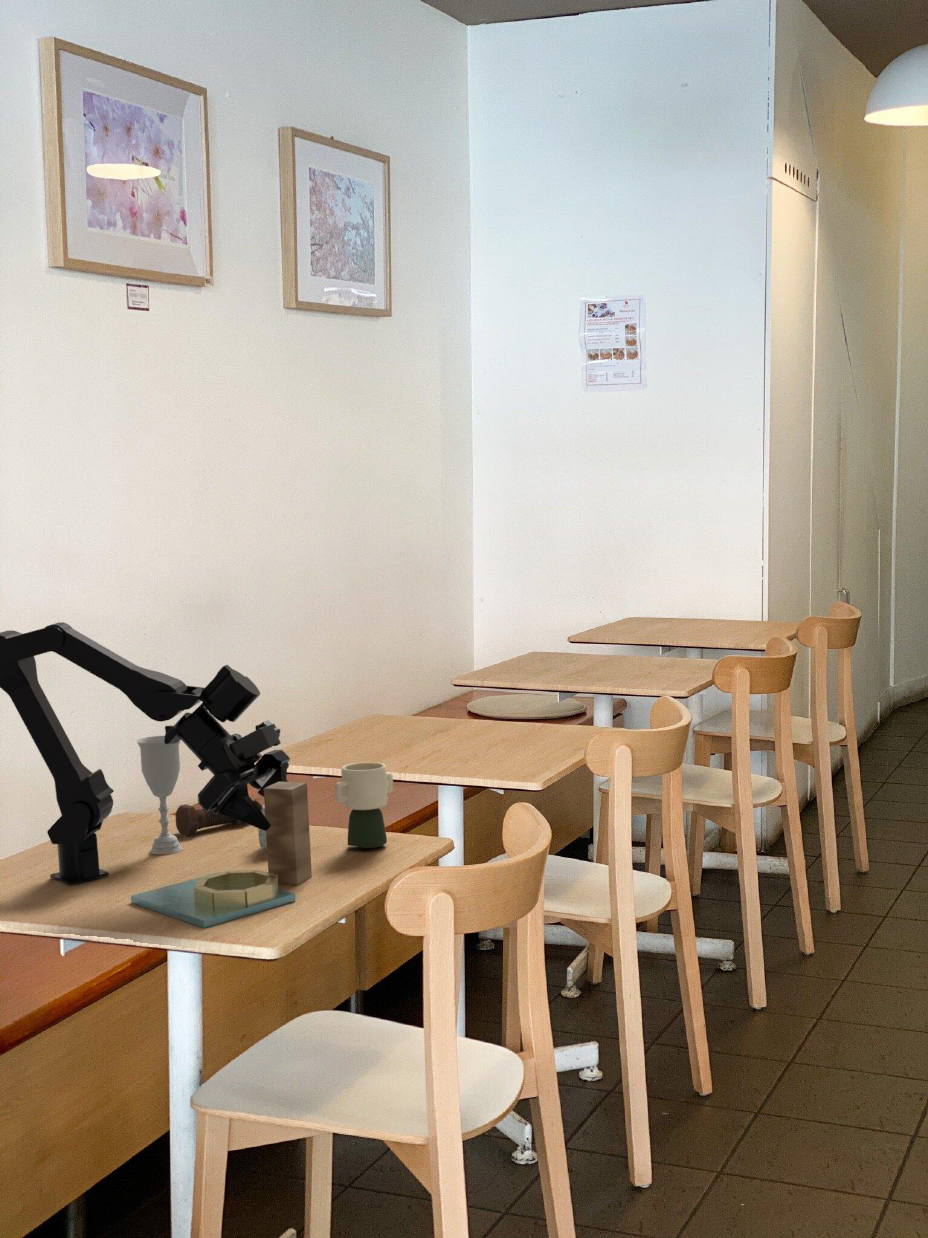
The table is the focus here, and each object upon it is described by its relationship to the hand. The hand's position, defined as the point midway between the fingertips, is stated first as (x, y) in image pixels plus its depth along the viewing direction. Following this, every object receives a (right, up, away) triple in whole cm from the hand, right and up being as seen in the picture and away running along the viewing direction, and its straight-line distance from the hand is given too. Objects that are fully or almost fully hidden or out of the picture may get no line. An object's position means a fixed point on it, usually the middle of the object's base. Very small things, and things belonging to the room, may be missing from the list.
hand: (283, 820), depth 202 cm
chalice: (-21, -8, +21) cm, 31 cm away
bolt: (-15, -7, +35) cm, 38 cm away
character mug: (+11, -7, +17) cm, 22 cm away
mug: (-3, -7, +19) cm, 21 cm away
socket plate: (-9, -10, -9) cm, 16 cm away
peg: (+1, -9, +1) cm, 9 cm away
